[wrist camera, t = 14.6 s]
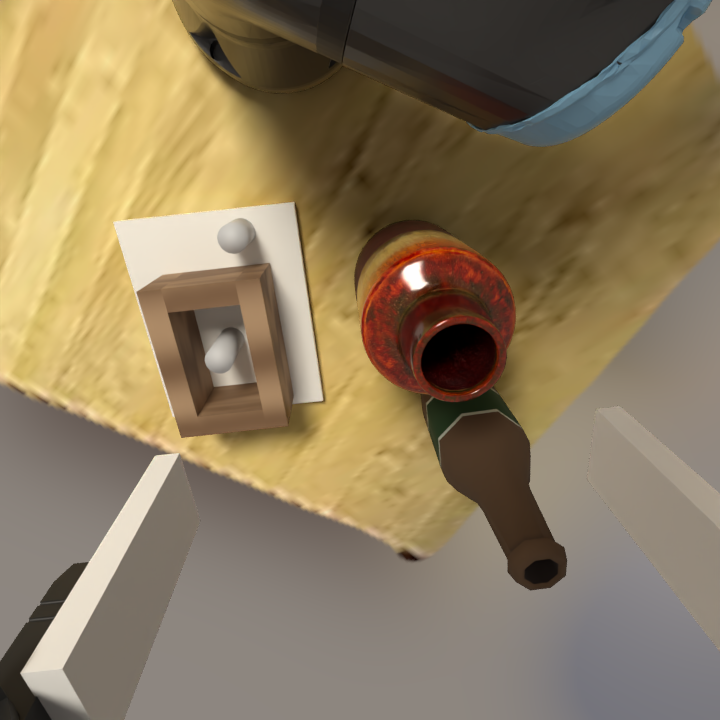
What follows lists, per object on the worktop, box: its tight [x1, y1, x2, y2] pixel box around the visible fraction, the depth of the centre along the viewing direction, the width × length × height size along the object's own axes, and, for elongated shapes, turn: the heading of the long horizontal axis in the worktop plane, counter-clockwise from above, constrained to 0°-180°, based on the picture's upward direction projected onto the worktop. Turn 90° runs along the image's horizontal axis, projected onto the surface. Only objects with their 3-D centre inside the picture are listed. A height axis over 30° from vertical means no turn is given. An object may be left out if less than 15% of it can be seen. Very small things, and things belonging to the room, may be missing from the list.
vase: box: [355, 220, 516, 402], centre depth 35 cm, size 11×11×20 cm
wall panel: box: [113, 202, 323, 417], centre depth 42 cm, size 20×16×6 cm
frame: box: [136, 263, 294, 438], centre depth 42 cm, size 14×10×6 cm
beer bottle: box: [421, 386, 567, 590], centre depth 39 cm, size 8×8×24 cm
